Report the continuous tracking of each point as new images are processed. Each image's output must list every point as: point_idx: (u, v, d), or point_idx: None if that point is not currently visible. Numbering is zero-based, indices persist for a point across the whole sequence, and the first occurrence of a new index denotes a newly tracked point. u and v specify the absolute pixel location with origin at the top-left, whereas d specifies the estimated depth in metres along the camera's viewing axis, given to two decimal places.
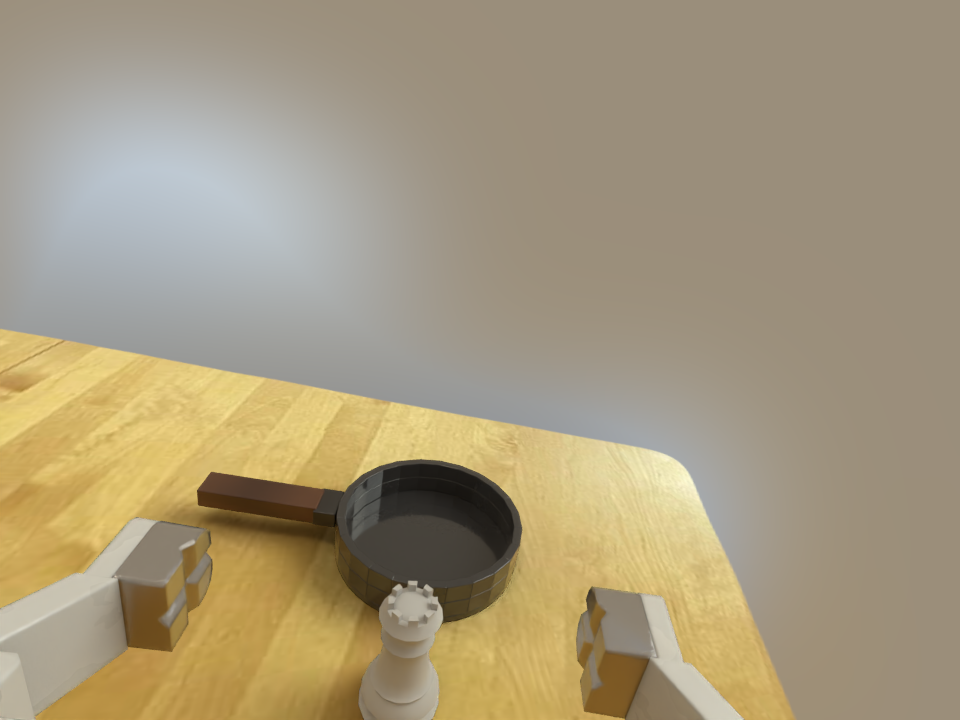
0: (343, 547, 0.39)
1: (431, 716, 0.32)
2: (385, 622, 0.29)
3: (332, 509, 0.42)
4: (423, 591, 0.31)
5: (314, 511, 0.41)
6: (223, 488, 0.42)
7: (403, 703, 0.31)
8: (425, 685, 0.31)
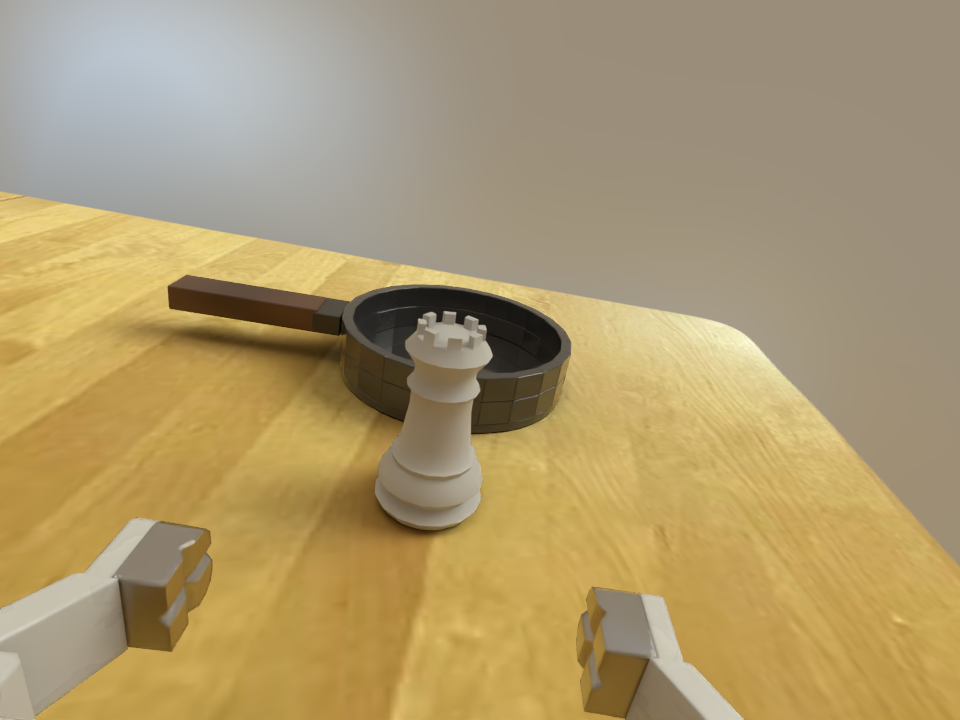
0: (351, 344, 0.31)
1: (473, 509, 0.24)
2: (415, 348, 0.21)
3: (336, 312, 0.34)
4: (464, 324, 0.22)
5: (314, 313, 0.33)
6: (200, 287, 0.34)
7: (438, 478, 0.22)
8: (466, 461, 0.23)
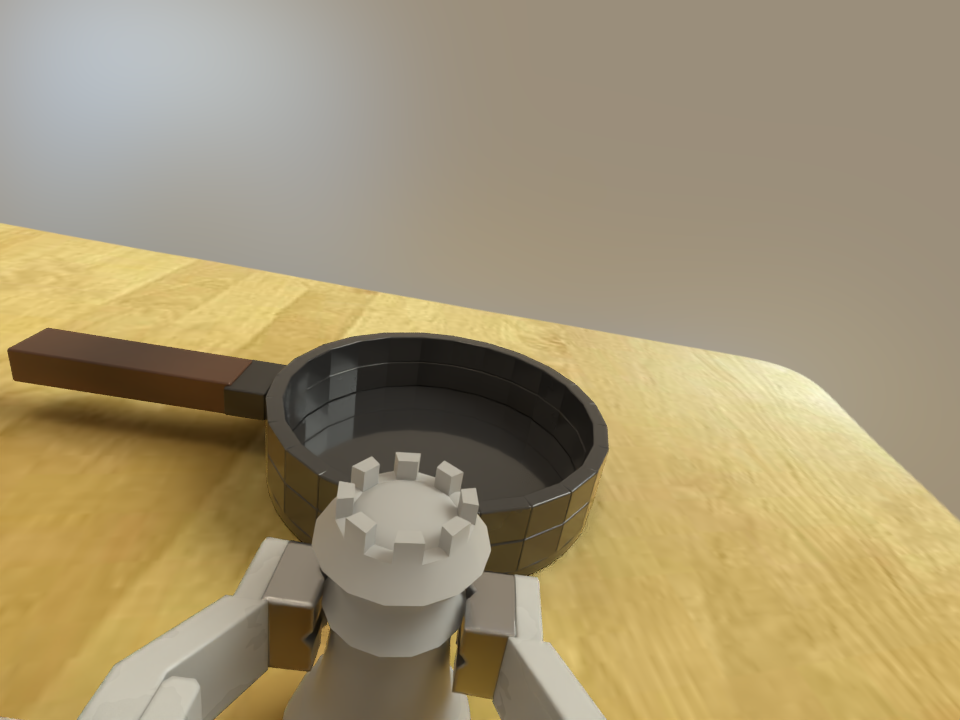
0: (273, 445, 0.20)
1: None
2: (328, 552, 0.10)
3: (261, 386, 0.23)
4: (436, 479, 0.11)
5: (226, 388, 0.22)
6: (60, 348, 0.23)
7: None
8: None
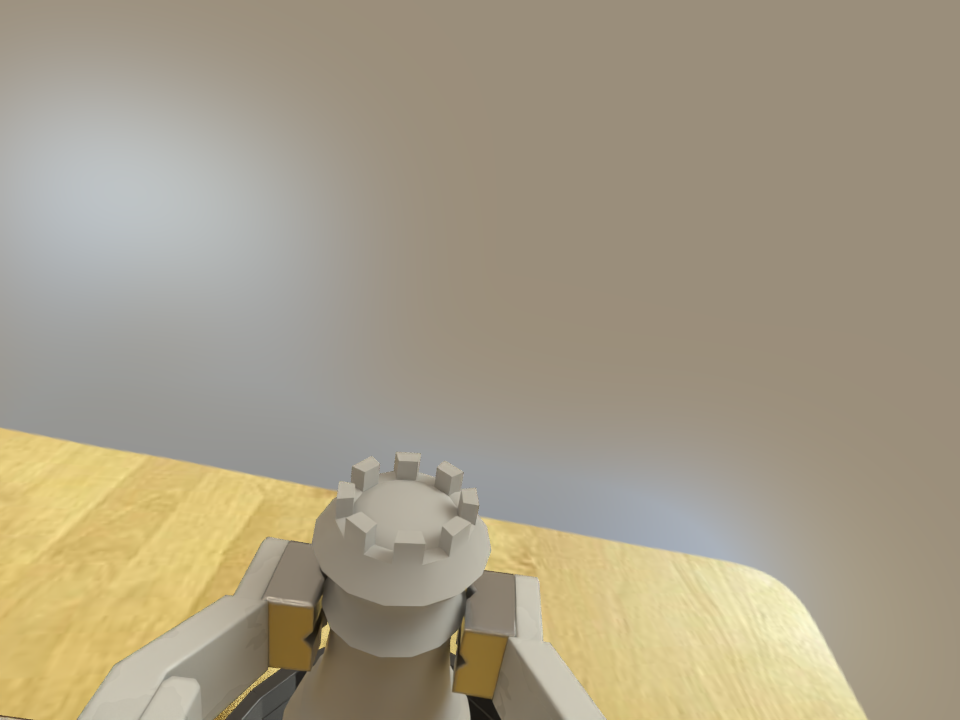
0: None
1: None
2: (328, 552, 0.10)
3: None
4: (436, 479, 0.11)
5: None
6: None
7: None
8: None
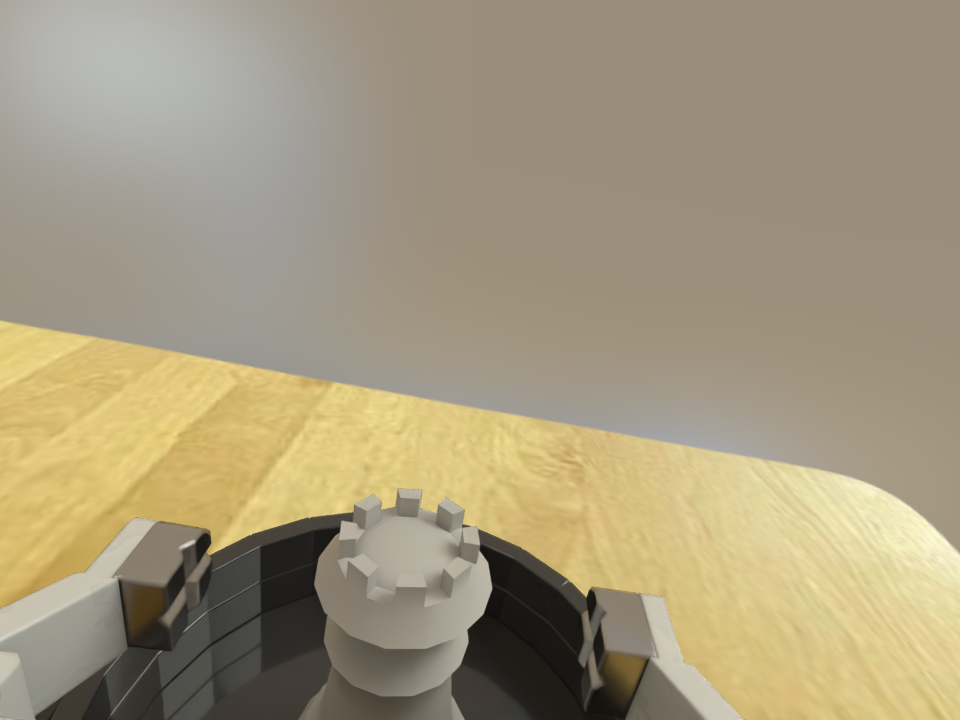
0: None
1: None
2: (331, 594, 0.10)
3: None
4: (438, 516, 0.12)
5: None
6: None
7: None
8: None
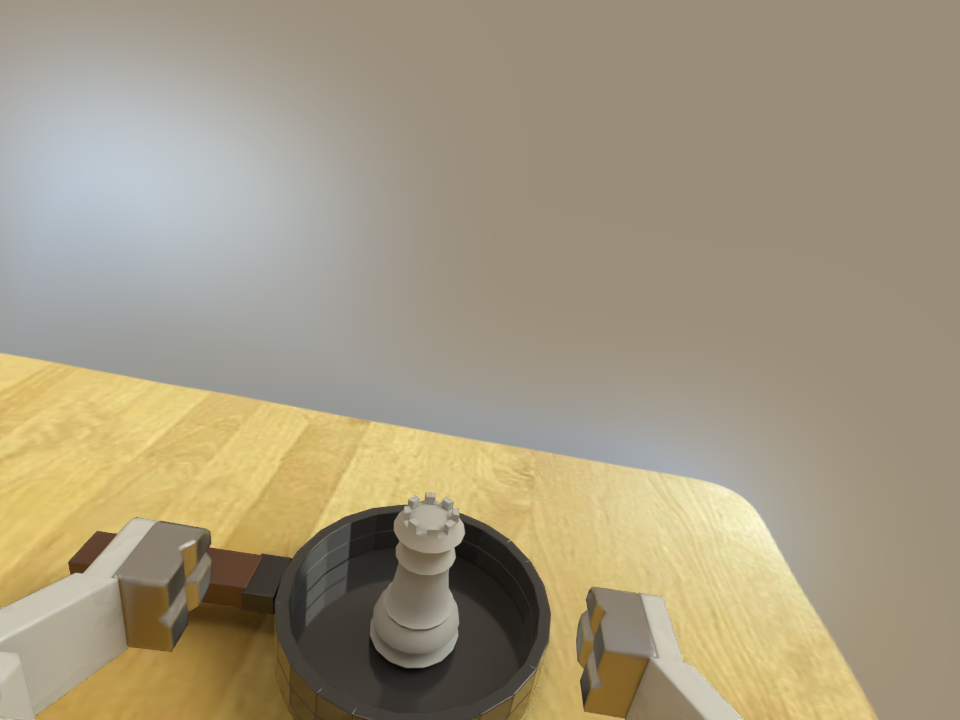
0: (281, 654, 0.26)
1: (451, 648, 0.29)
2: (401, 534, 0.26)
3: (270, 588, 0.28)
4: (442, 504, 0.28)
5: (243, 592, 0.28)
6: None
7: (421, 630, 0.28)
8: (445, 612, 0.28)
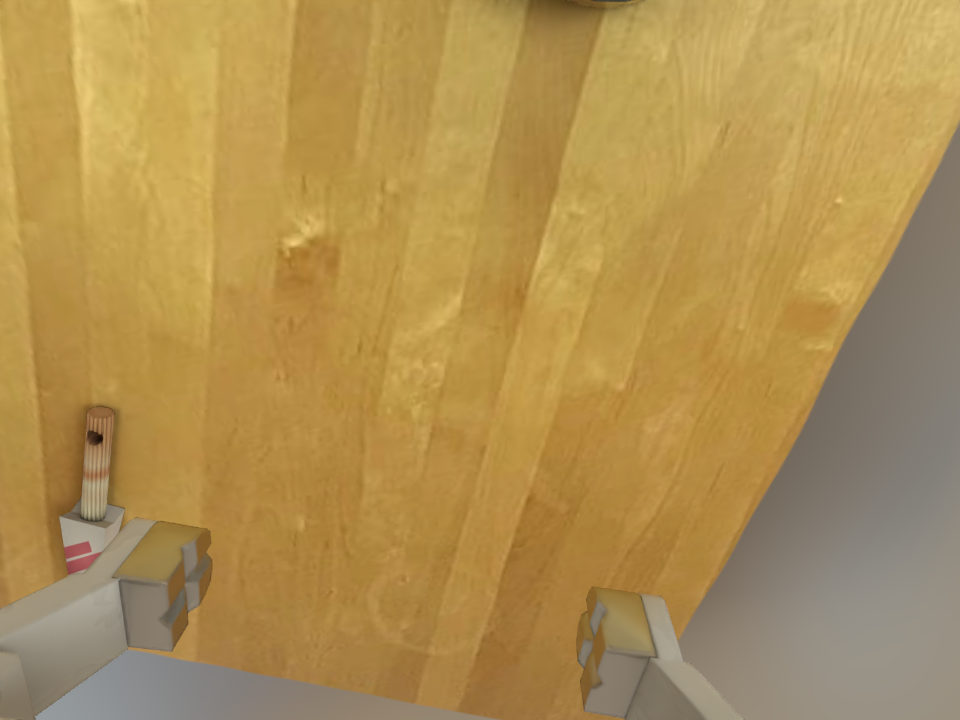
0: None
1: None
2: None
3: None
4: None
5: None
6: None
7: None
8: None
